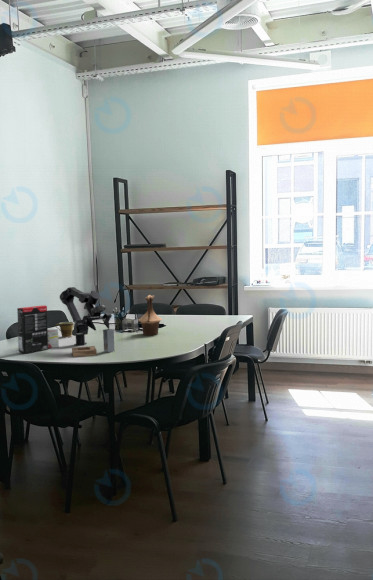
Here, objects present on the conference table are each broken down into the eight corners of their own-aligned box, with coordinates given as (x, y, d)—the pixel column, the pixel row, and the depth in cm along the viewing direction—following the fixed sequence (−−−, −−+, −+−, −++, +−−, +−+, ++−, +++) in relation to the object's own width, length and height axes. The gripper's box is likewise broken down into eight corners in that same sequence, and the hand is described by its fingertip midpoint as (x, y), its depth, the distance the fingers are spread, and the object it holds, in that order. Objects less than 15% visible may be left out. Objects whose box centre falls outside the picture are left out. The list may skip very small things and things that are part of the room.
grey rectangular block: (103, 351, 295) (103, 329, 294) (110, 350, 298) (109, 328, 297) (108, 352, 291) (107, 330, 290) (114, 351, 294) (113, 329, 293)
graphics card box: (42, 348, 310) (40, 304, 308) (49, 349, 306) (47, 305, 304) (18, 353, 297) (15, 307, 295) (24, 354, 293) (22, 308, 291)
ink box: (44, 348, 310) (43, 329, 309) (44, 347, 315) (43, 328, 314) (58, 347, 313) (58, 328, 312) (58, 345, 317) (57, 327, 317)
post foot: (72, 352, 294) (71, 347, 293) (94, 351, 297) (94, 346, 297) (73, 357, 281) (73, 351, 281) (96, 355, 285) (96, 349, 284)
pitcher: (161, 336, 344) (160, 295, 341) (137, 336, 344) (135, 296, 342) (163, 332, 361) (162, 293, 359) (140, 332, 362) (138, 294, 359)
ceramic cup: (76, 335, 356) (75, 321, 356) (71, 338, 346) (70, 323, 346) (58, 335, 358) (57, 321, 357) (53, 338, 348) (52, 324, 347)
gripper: (82, 302, 295) (93, 322, 288) (109, 299, 307) (120, 318, 300) (76, 314, 302) (86, 334, 294) (103, 311, 314) (113, 330, 306)
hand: (102, 329), depth 299 cm, fingers open, 9 cm apart
